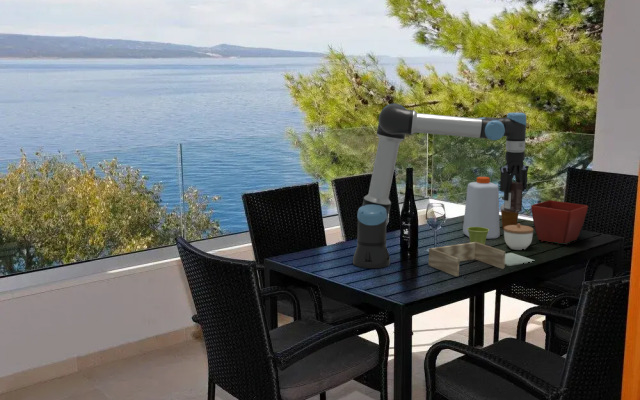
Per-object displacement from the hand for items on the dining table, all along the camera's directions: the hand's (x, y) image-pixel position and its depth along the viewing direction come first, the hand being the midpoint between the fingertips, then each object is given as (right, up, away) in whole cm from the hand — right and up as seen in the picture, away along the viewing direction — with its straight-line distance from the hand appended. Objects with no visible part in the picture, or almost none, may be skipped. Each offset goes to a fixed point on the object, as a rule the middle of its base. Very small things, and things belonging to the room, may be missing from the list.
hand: (512, 207), depth 302 cm
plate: (0, -22, +4) cm, 22 cm away
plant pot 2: (+30, -16, +36) cm, 50 cm away
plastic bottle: (-3, -14, +47) cm, 49 cm away
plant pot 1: (-9, -18, +24) cm, 31 cm away
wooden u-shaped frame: (-20, -24, -7) cm, 32 cm away
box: (0, -2, 0) cm, 2 cm away
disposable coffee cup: (+14, -12, +60) cm, 63 cm away
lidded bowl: (+9, -18, +24) cm, 31 cm away
